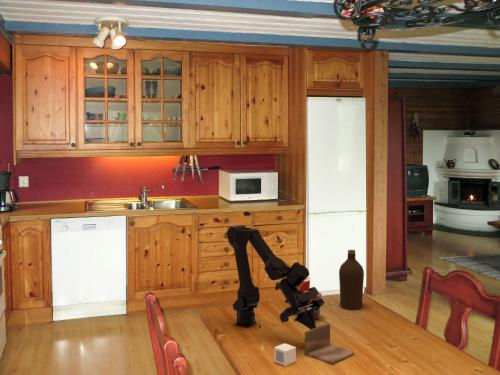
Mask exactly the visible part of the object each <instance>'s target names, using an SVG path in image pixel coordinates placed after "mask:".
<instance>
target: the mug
mask: <svg viewBox="0 0 500 375" xmlns="http://www.w3.org/2000/svg"><path fill="white" fill-rule="evenodd" d="M304 292H308V291H304ZM318 293H319V294H318V295H317V298H322V295H323V294H322V292H321V291H318ZM317 298H316V299H317ZM314 299H315V298H314ZM314 299H312V300H314ZM312 300H311V301H312ZM311 301H310V302H311ZM310 302H309V303H310ZM309 303H308V304H309ZM304 309H305V308H304ZM320 317H321V307H320V308H319V309H318V310H317V311H316V312H314V320H315V321H317V320H319V319H320Z"/></svg>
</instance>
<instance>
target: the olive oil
mask: <svg viewBox="0 0 500 375" xmlns="http://www.w3.org/2000/svg"><path fill="white" fill-rule="evenodd" d="M356 255H357V254H356V249H348V250H347V259H346V260H345V261H344V262H343V263H342V264H341V265H340V268H339V269H338V275H339V276H338V278H339V280H338V282H339V302H340V303H339V304H340V305H339V306H340V307H341V308H342V309H344V310H348V311H349V310H351V311H357V310H360V309H362V307H363V294H364V280H365V279H364V277H365V271H364V270H365V269H364V268H363V266H362V265H361V263H360V262H359V261H358V260H357V259H356Z"/></svg>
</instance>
